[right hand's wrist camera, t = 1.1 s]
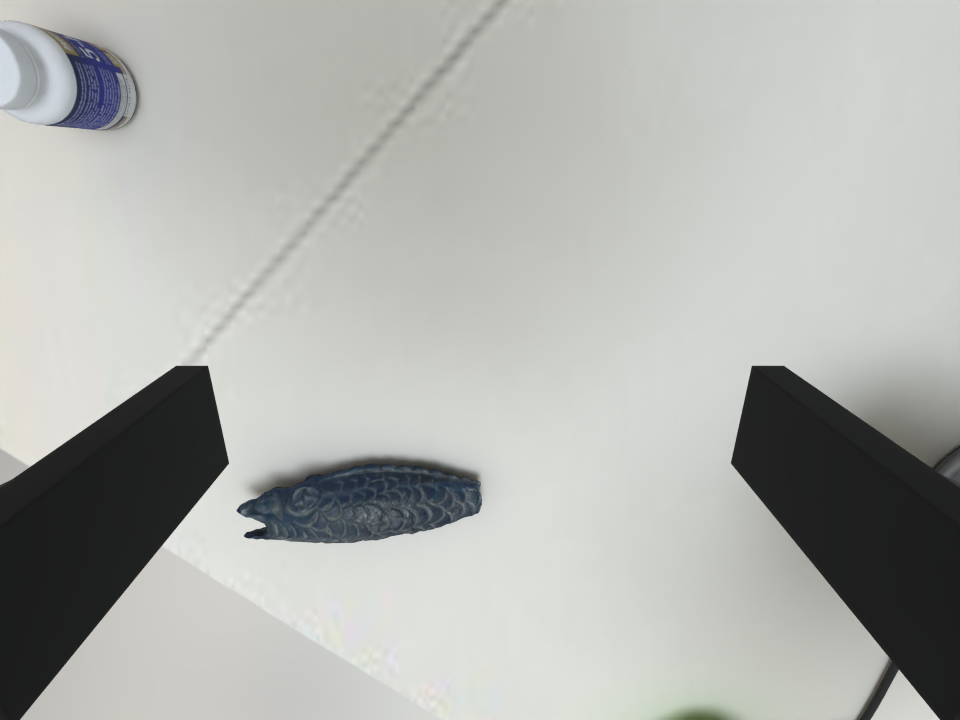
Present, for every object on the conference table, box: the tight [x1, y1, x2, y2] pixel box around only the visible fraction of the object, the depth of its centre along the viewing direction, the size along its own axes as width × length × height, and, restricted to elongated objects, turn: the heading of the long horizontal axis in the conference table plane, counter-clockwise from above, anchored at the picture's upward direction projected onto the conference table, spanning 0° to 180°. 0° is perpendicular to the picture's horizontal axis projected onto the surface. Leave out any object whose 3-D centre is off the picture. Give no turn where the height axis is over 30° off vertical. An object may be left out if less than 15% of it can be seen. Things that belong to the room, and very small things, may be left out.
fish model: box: [237, 464, 482, 543], centre depth 44 cm, size 7×21×5 cm, turn 92°
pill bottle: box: [0, 21, 136, 131], centre depth 31 cm, size 5×5×9 cm
